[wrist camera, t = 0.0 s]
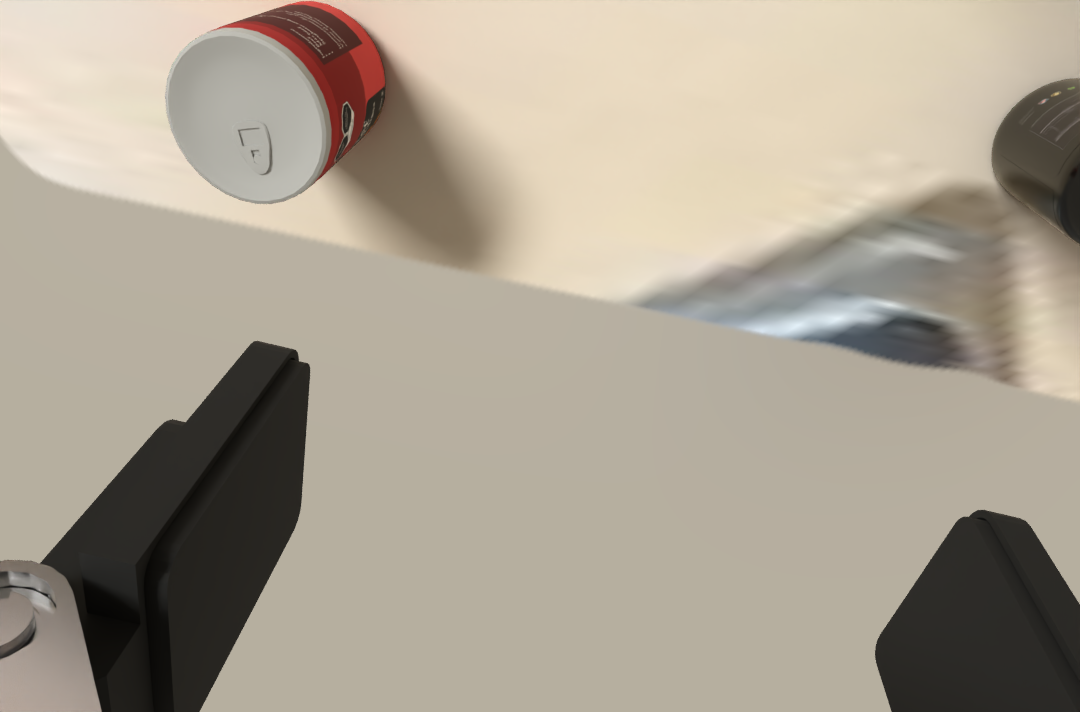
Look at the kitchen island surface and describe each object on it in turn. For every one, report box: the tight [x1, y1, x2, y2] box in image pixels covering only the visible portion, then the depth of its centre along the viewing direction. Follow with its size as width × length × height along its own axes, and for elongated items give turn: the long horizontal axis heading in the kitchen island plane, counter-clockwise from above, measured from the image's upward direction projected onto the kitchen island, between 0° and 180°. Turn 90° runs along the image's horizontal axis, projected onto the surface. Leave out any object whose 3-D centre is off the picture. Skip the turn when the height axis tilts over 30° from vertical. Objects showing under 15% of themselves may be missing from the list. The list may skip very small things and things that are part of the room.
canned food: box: [165, 1, 385, 204], centre depth 41 cm, size 8×8×11 cm
